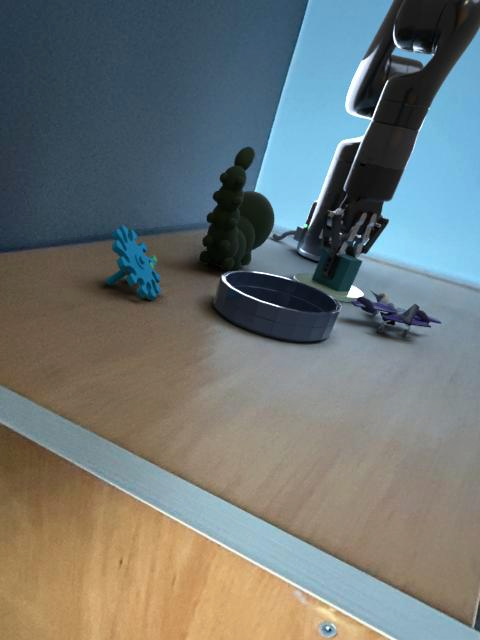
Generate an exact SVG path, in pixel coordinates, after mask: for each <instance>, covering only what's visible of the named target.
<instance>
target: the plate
mask: <svg viewBox="0 0 480 640" xmlns="http://www.w3.org/2000/svg"><path fill="white" fill-rule="evenodd" d="M313 275H314V273H308V272H299V273H295V274H294V275H293V277H292V280H295V281H298V282H301V283H304V284H306V285H309V286H312V287H314V288H316V289H319V290H321V291H323V292H325V293H327V294H329V295H330V296H332V297H333V298H334V299H336V300H337V301H338V302H343V303H351V302H352V301H357V298H358V297H360V296H362V297H364V296H365V294H364V292H363V291H362V290H360V289H359V288H357V286H354V285H352V286H351V289H350V291H349V292H338V291H336V290H333V289H331V288H329V287H327V286H325V285H323V284H321V283H319V282H316V281H314V280H312V278H313Z"/></svg>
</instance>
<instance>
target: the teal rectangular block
mask: <svg viewBox="0 0 480 640" xmlns="http://www.w3.org/2000/svg"><path fill="white" fill-rule="evenodd" d="M327 256H328V252H327V250H325V249H324V250H323V252H322V255H321V257H320V260H319V262H318V261H317V262H318V263H317V264H316V267H315V270H314V273H313V274H314V275H313V278H312V280H314V281H316V282H319V283H321V284H323V285H325V286H327V287H329V288H331V289H333V290H336V291H338V292H349V291H350V289H351V286H353V284H354V282H355V279H356V277H357V274H358V272H359V270H360V268H361V265H362V264H363V260H362V259H359V258H354V257H352V256H350V255H347V254H345V253H343V255H342V256H341V260H340V262H339V265H338V267H337V270H336V272H335V275H334V277H333V279H332V280H327V279H324V278H322V277H321V272H322V268H323V266H324V263H325V261H326V258H327Z"/></svg>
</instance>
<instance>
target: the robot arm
mask: <svg viewBox="0 0 480 640" xmlns="http://www.w3.org/2000/svg"><path fill="white" fill-rule="evenodd" d="M479 30H480V0H393V1H392V2H391V5H390V6H389V9H388V10H387V13H386V14H385V16H384V18H383V20H382V22H381V24H380V26H379V27H378V30H377V32H376V34H375V35H374V37H373V39H372V41H371V43H370V45H369V47H368V48H367V50H366V52H365V54H364V56H363V57H362V60H361V61H360V64H359V66H358V67H357V70H356V72H355V74H354V76H353V78H352V80H351V84H350V86H349V89H348V92H347V94H346V99H345V110H346V112H347V113H348V114H350V115H352V116H354V117H358V118H363V119H367V120H371V121H370V123H369V125H368V126H367V129H366V130H365V133H364V134H363V135H362V136H359V137H355V138H348V139H345V140H342V141H340V143H339V144H338V145H337V148H336V149H335V153H334V156H333V158H332V161H331V164H330V167H329V169H328V172H327V175H326V177H325V180H324V183H323V186H322V188H321V191H320V193H319V197H318V199H317V200H314V201H313V202H312V204H311V207H310V210H309V212H308V215H307V218H306V221H305V223H304V225H303V226H301V225H297V226H296V229H295V230H294V229H292V230H287V231H284V232H283V233H282V234H281V235H279V234H277V233H273V234H272V236H271V237H272V238H273V239H274V240H276V241H281V240H284V239H285V238H287V237H288V236H293V238H292V240H294V241H297V242H298V243H297V245H296V247H295V252H297V253H298V254H299V255H301V256H302V257H304V258H306V259H309V260H312V261H314V262H319V260H320V257H321V255H322V252H323V250H324V249H325V250H327V252H328V256H327V258H326V261H325V263H324V266H323V268H322V272H321V277H322V278H324V279H327V280H332V279H333V277H334V275H335V272H336V270H337V267H338V265H339V262H340V260H341V256H342V255H343V253H345V254H347V255H350V256H352V257H354V258H357V259H359V257H360V256H361V255H362V254H364V255H366V254H368V253H369V252H370V250H371V248H372V247H373V246H374V244H375V243H376V241H377V240H378V238H379V237H381V235H382V233H383V232H384V230H385V229H386V228H387V226H388V225H389V222H390V219H389V218H388V217H384V216H383V214H382V213H383V206H384V203H388V202H391V201H392V200H393V198H394V196H395V193H396V191H397V190H398V187H399V184H400V182H401V179H402V177H403V175H404V172H405V170H406V168H407V167H408V163H409V161H410V159H411V156H412V154H413V152H414V149H415V146H416V143H417V140H418V137H419V134H420V131H421V129H422V126H423V124H424V122H425V119H426V117H427V115H428V113H429V110H430V109H431V107H432V104H433V101H434V100H435V98H436V96H437V95H438V93H439V91H440V89H441V88H442V86H443V84H444V82H445V81H446V80H447V78H448V76H449V75H450V73H451V72H452V70H453V68H454V67H455V66H456V64H457V63H458V62H459V60H460V59H461V57H462V56H463V54H464V53H465V52H466V50H467V49H468V47H469V46H470V45H471V43H472V41H474V39H475V37H476V35H477V34H478V32H479ZM396 48H397V49H399V50H401V51H404V52H408V53H416V54H417V53H418V54H423V55H430V56H431V55H432V57H431V58H430V59H429V61H427V63H426V64H425V65H424V64H423V63H422V61H420V60H418V59H414V58H410V57H405V56H402V55H401V56H400V55H396V54H393V53H394V51H395V50H396Z"/></svg>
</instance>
